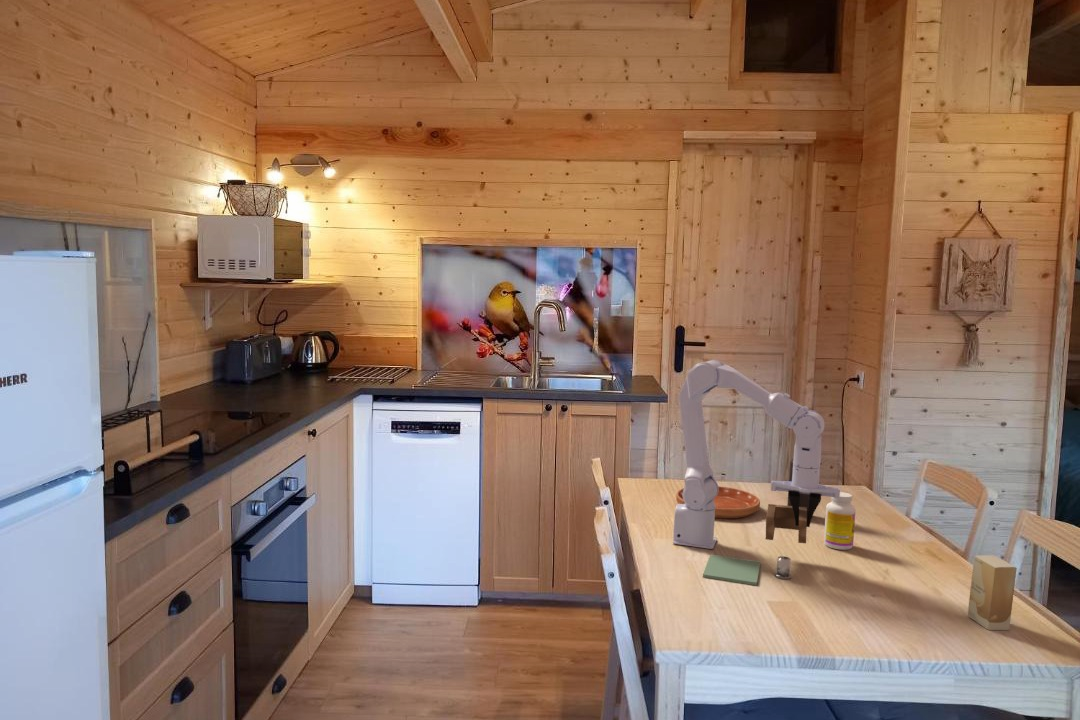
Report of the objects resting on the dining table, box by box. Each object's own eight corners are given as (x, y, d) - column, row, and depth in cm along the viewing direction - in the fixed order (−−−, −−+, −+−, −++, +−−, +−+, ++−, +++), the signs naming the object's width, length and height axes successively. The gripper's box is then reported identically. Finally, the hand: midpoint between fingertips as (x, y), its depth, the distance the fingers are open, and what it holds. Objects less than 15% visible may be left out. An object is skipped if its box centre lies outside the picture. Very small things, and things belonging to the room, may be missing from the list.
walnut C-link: (765, 539, 165) (766, 517, 164) (767, 524, 175) (768, 504, 174) (806, 543, 162) (806, 520, 161) (806, 528, 172) (806, 507, 171)
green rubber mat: (702, 577, 159) (702, 574, 159) (710, 557, 171) (710, 554, 171) (756, 585, 155) (756, 582, 155) (760, 564, 167) (760, 561, 167)
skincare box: (966, 616, 143) (971, 554, 142) (987, 615, 144) (993, 554, 142) (989, 631, 137) (995, 566, 136) (1011, 631, 137) (1017, 566, 136)
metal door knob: (774, 578, 159) (775, 559, 159) (774, 572, 163) (776, 554, 162) (791, 580, 158) (792, 562, 158) (791, 574, 162) (792, 557, 161)
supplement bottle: (855, 552, 177) (859, 499, 176) (826, 549, 179) (829, 496, 178) (849, 542, 184) (853, 491, 183) (821, 540, 185) (824, 489, 184)
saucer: (759, 525, 196) (760, 511, 196) (671, 515, 203) (672, 502, 202) (759, 502, 218) (760, 490, 218) (680, 494, 225) (680, 482, 224)
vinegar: (815, 515, 206) (820, 444, 204) (809, 521, 200) (814, 448, 198) (790, 511, 210) (794, 440, 208) (783, 516, 204) (788, 444, 202)
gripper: (771, 466, 166) (768, 525, 167) (842, 473, 161) (837, 534, 162) (773, 459, 172) (769, 517, 174) (840, 466, 168) (836, 525, 169)
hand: (802, 525), depth 168 cm, fingers closed on walnut C-link
